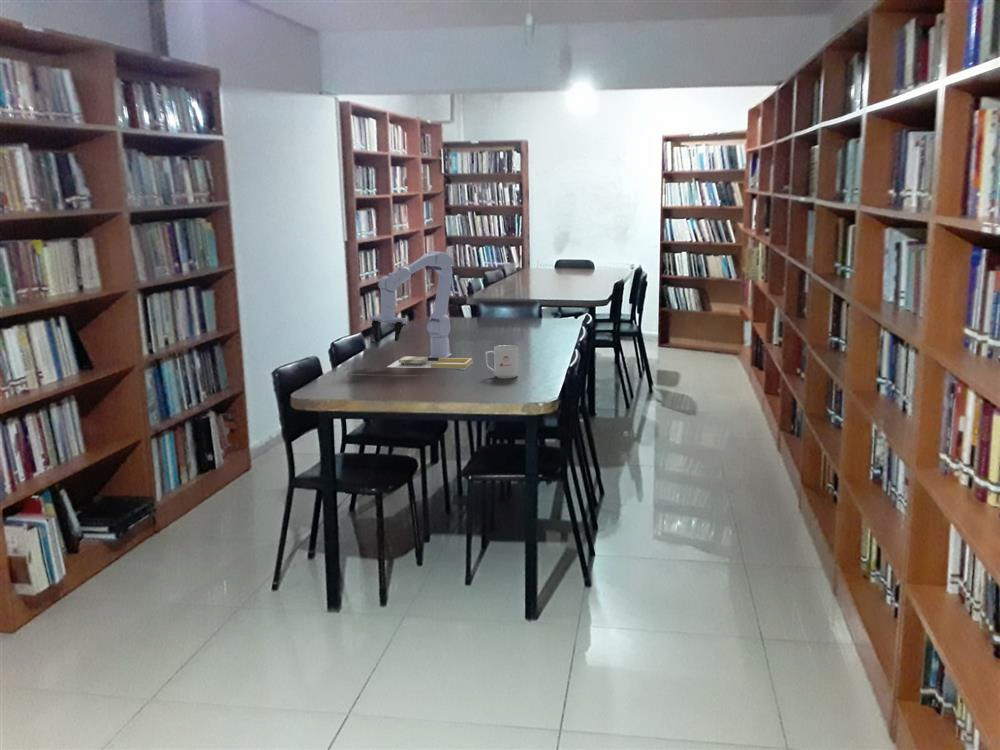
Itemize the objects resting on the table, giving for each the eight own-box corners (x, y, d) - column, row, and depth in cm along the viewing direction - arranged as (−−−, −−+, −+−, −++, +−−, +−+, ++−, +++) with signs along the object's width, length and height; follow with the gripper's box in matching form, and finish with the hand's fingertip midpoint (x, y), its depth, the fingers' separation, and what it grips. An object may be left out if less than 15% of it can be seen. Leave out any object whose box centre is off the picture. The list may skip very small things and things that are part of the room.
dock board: (397, 361, 362) (397, 356, 361) (473, 362, 356) (472, 357, 355) (386, 368, 348) (386, 363, 348) (464, 369, 342) (464, 364, 342)
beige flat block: (398, 365, 351) (398, 359, 350) (404, 362, 358) (403, 356, 357) (423, 365, 349) (422, 360, 348) (427, 362, 356) (427, 356, 355)
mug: (517, 373, 333) (516, 344, 331) (519, 378, 324) (518, 348, 322) (485, 374, 332) (485, 345, 330) (486, 379, 324) (485, 349, 321)
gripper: (367, 306, 348) (366, 340, 350) (402, 308, 345) (401, 342, 348) (373, 305, 355) (372, 338, 357) (407, 306, 352) (406, 340, 354)
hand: (387, 340), depth 353 cm, fingers open, 7 cm apart
